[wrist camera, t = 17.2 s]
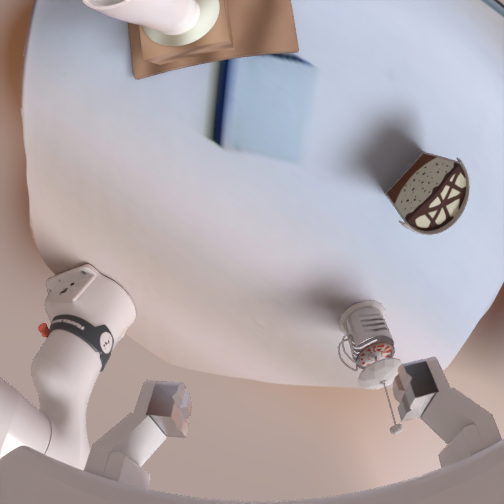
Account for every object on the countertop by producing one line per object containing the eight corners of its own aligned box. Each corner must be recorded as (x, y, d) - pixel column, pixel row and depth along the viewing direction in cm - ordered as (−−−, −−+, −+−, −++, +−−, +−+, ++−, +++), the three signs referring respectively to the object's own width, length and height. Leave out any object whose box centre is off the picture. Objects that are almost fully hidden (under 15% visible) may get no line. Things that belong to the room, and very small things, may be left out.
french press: (373, 339, 55) (404, 444, 34) (323, 333, 55) (341, 450, 33) (394, 303, 51) (441, 413, 29) (341, 295, 50) (376, 419, 28)
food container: (400, 224, 43) (427, 255, 34) (378, 200, 41) (404, 228, 32) (448, 172, 38) (484, 194, 29) (428, 145, 36) (465, 161, 27)
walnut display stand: (139, 79, 33) (113, 77, 27) (129, -10, 26) (105, -25, 19) (297, 52, 31) (305, 41, 24) (281, -40, 23) (283, -65, 17)
